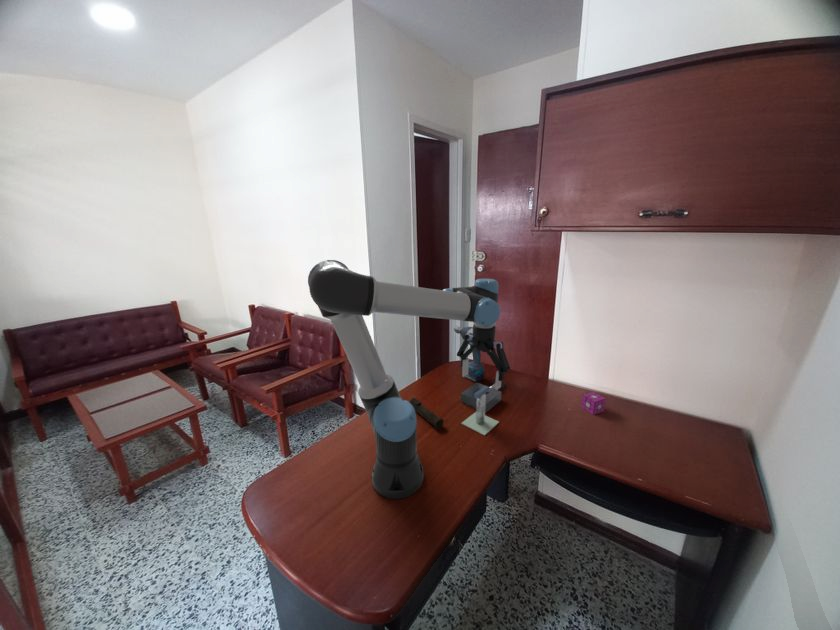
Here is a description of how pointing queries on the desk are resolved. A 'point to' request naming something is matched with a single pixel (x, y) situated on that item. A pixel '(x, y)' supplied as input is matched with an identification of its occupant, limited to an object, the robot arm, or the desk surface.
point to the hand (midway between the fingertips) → (480, 381)
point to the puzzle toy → (593, 403)
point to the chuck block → (491, 396)
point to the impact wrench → (474, 366)
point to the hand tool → (427, 414)
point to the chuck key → (481, 404)
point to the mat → (480, 429)
